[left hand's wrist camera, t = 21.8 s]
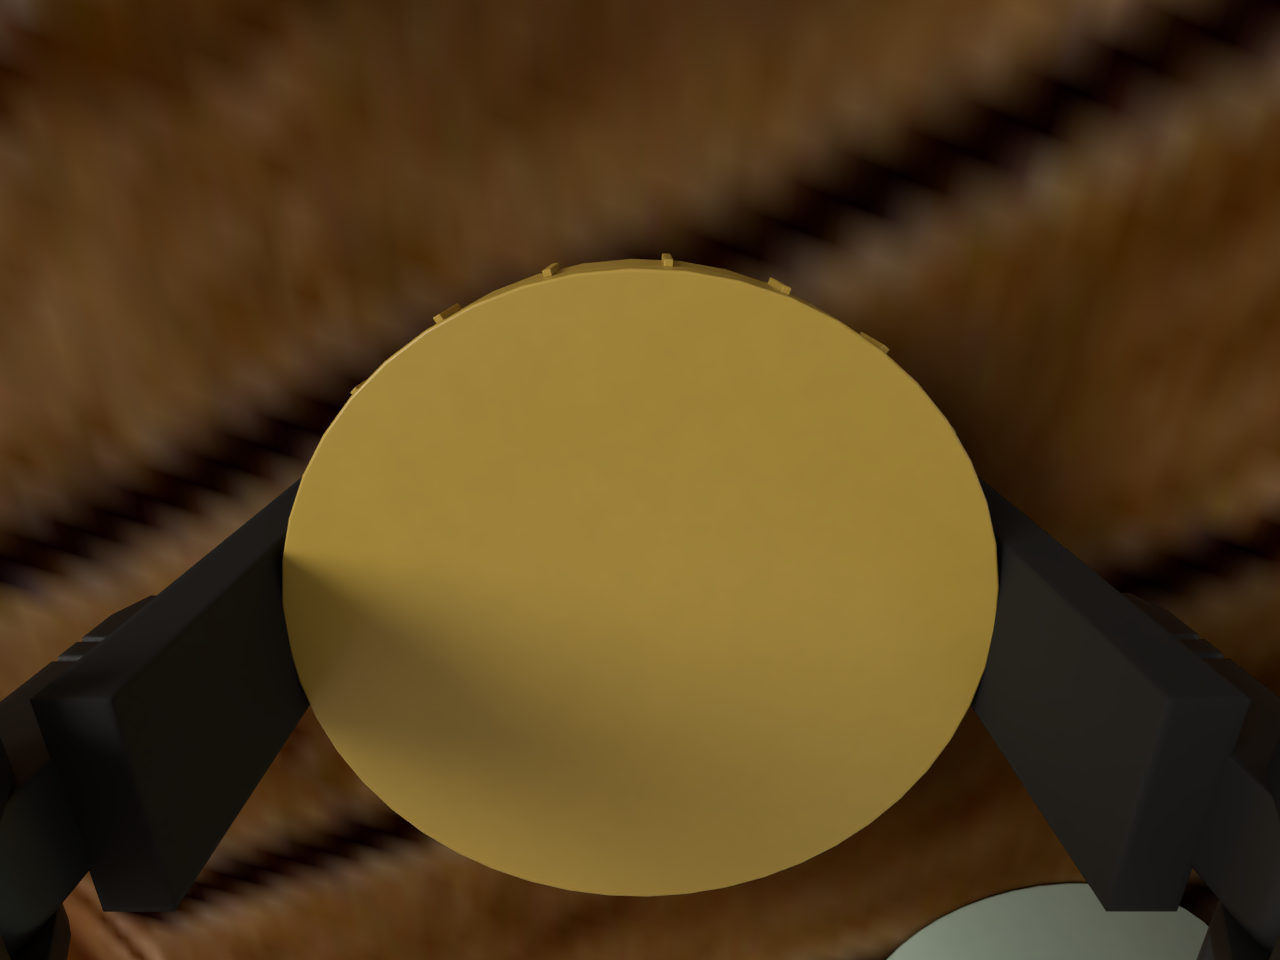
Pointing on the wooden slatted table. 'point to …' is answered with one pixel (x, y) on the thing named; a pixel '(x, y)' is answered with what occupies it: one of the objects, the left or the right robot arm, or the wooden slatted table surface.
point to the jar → (1054, 930)
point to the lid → (640, 579)
